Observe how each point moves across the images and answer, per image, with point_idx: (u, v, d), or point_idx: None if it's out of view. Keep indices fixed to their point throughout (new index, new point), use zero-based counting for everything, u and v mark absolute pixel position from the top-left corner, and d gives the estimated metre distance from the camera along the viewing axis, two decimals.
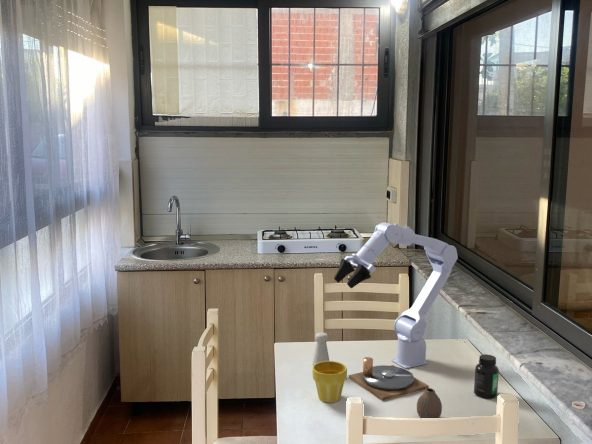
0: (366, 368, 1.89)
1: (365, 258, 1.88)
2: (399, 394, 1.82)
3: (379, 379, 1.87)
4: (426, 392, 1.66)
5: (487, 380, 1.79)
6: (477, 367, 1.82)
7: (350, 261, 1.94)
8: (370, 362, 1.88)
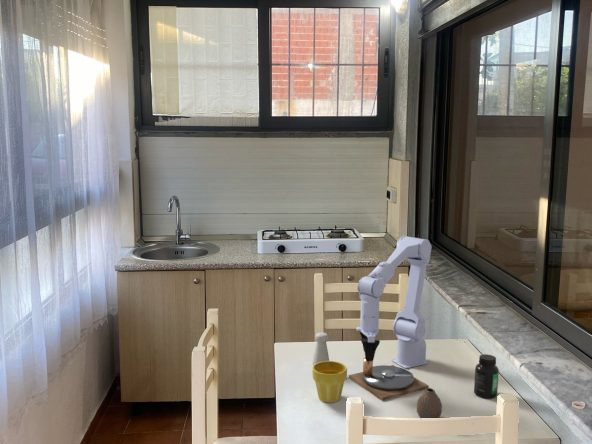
0: (366, 368, 1.89)
1: (366, 327, 1.85)
2: (399, 394, 1.82)
3: (379, 379, 1.87)
4: (426, 392, 1.66)
5: (487, 380, 1.79)
6: (477, 367, 1.82)
7: None
8: (370, 362, 1.88)
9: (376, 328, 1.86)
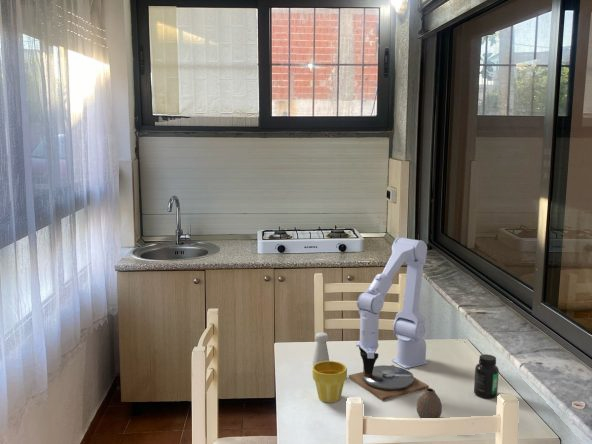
0: None
1: (365, 343, 1.86)
2: (399, 394, 1.82)
3: (379, 379, 1.87)
4: (426, 392, 1.66)
5: (487, 380, 1.79)
6: (477, 367, 1.82)
7: None
8: None
9: (375, 344, 1.86)
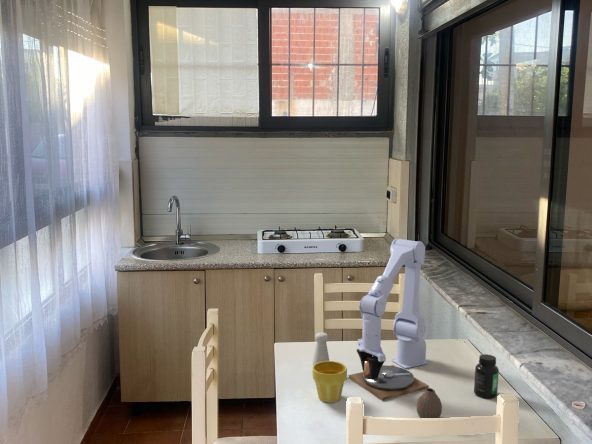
0: (367, 370, 1.87)
1: (371, 347, 1.83)
2: (399, 394, 1.82)
3: (382, 380, 1.87)
4: (426, 392, 1.66)
5: (487, 380, 1.79)
6: (477, 367, 1.82)
7: None
8: None
9: (380, 346, 1.85)
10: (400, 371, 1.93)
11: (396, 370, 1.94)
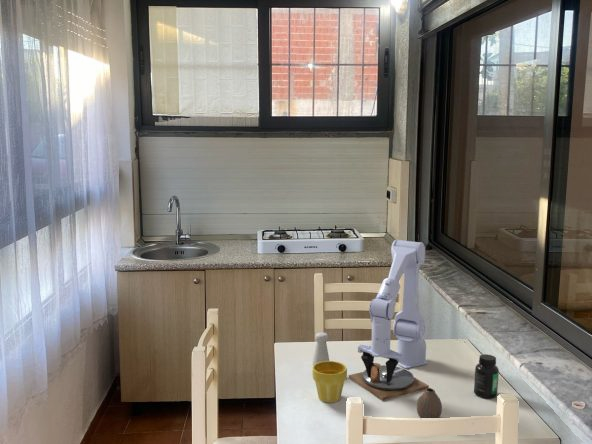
0: (377, 375, 1.84)
1: (386, 350, 1.81)
2: (399, 394, 1.82)
3: None
4: (426, 392, 1.66)
5: (487, 380, 1.79)
6: (477, 367, 1.82)
7: None
8: (380, 367, 1.84)
9: None
10: None
11: None
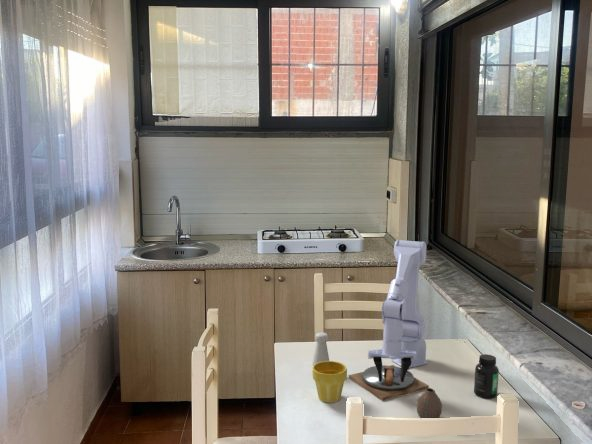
0: (393, 377, 1.82)
1: (401, 350, 1.81)
2: (399, 394, 1.82)
3: (398, 380, 1.87)
4: (426, 392, 1.66)
5: (487, 380, 1.79)
6: (477, 367, 1.82)
7: None
8: None
9: None
10: None
11: None
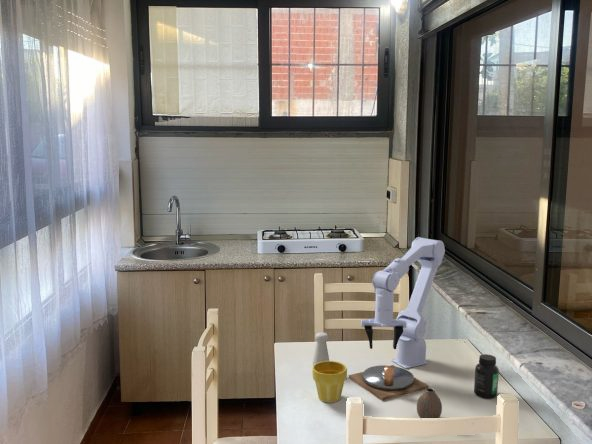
0: (393, 377, 1.82)
1: (392, 319, 1.92)
2: (399, 394, 1.82)
3: (398, 380, 1.87)
4: (426, 392, 1.66)
5: (487, 380, 1.79)
6: (477, 367, 1.82)
7: None
8: None
9: None
10: (380, 368, 1.95)
11: (377, 369, 1.94)
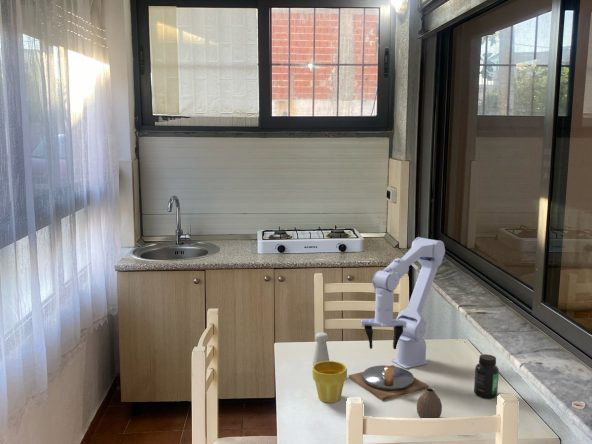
0: (393, 377, 1.82)
1: (392, 319, 1.92)
2: (399, 394, 1.82)
3: (398, 380, 1.87)
4: (426, 392, 1.66)
5: (487, 380, 1.79)
6: (477, 367, 1.82)
7: (369, 324, 1.94)
8: None
9: None
10: (380, 368, 1.95)
11: (377, 369, 1.94)
